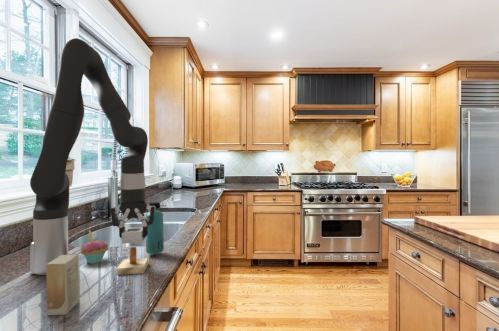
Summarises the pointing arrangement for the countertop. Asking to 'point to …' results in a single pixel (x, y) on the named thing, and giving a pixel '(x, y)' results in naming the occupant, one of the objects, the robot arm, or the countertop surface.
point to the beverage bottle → (155, 232)
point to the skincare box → (62, 284)
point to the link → (132, 235)
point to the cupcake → (94, 250)
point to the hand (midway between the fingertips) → (134, 237)
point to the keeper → (132, 264)
